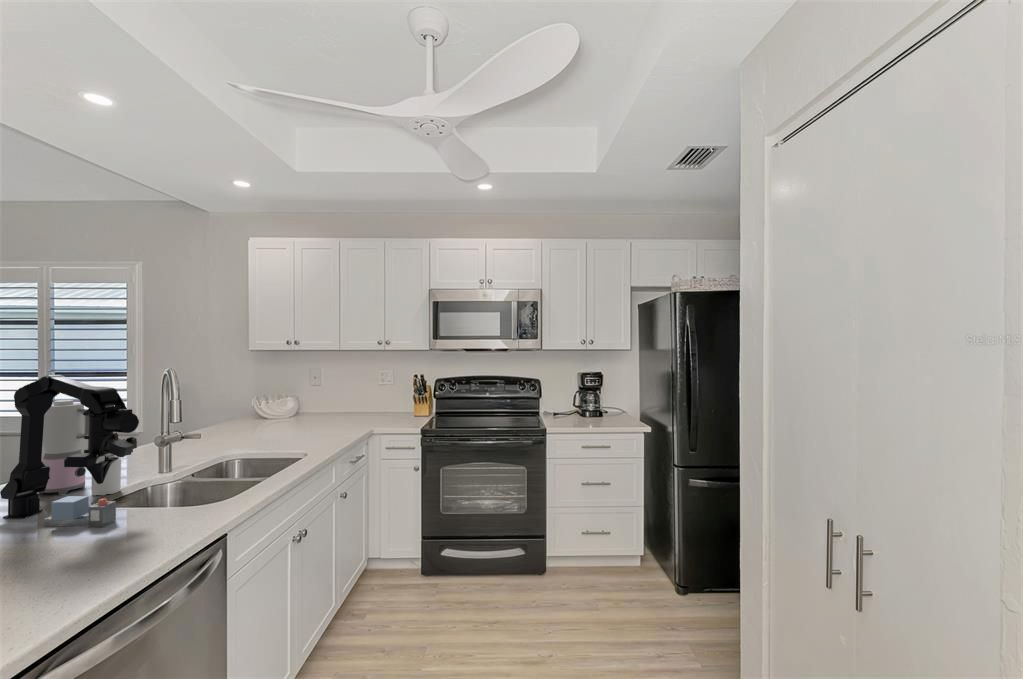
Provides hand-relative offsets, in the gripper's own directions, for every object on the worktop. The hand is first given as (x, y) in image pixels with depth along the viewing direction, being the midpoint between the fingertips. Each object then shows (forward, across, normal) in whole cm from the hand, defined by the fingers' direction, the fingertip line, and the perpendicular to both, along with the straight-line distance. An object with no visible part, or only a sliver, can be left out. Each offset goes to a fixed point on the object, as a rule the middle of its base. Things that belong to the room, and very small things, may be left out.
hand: (100, 483), depth 145 cm
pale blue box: (+10, 0, +8) cm, 12 cm away
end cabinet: (+12, 0, -1) cm, 12 cm away
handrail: (+12, 0, +8) cm, 14 cm away
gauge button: (+9, -1, -1) cm, 10 cm away
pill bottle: (+12, +29, +20) cm, 37 cm away
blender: (+12, +31, +35) cm, 48 cm away
